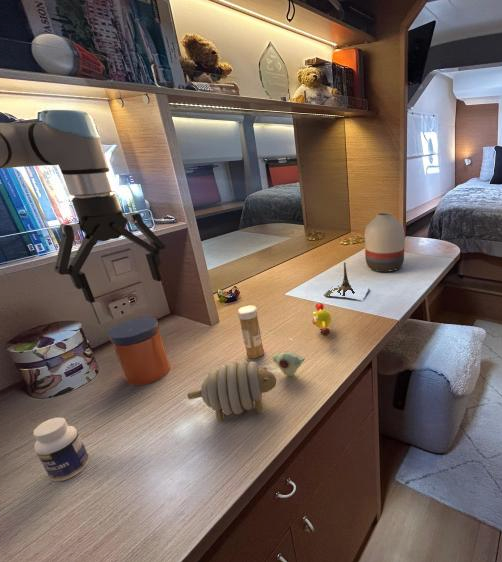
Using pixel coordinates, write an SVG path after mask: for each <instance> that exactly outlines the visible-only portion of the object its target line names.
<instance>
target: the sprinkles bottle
mask: <svg viewBox="0 0 502 562" xmlns="http://www.w3.org/2000/svg"><path fill="white" fill-rule="evenodd" d="M237 316H238V319H239V322H240V327H241V328H240V329H241V333H242V338H243V344H244V347H245V352H246V353H245V354H246V357H247V358H249V359H257V358H260V357H261V356H263V354H264V353H265V350H264V345H263V340H262V334H261V329H260V323H259V318H258V309H257V307H256V306H255V305H244V306H241V307H240V308H239V309H237Z"/></svg>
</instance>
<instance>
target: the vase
mask: <svg viewBox="0 0 502 562" xmlns="http://www.w3.org/2000/svg"><path fill="white" fill-rule="evenodd" d="M405 236H406V235H405V227H404V226H403V224H402V223H401V222H400V221H399V220H398V219H396V218H395V217H394V216H393V213H391V212H377V213H376V216H375V217H374V218H373V219H372V220H371V221H369V223H367V225H366V227H365V230H364V253H365V254H364V255H365V256H364V257H365V262H366V263H365V264H366V265H367V266H368V268H369V269H370V268H371V269H370V270H372V269H373V270H372V271H374V270H378V271H389V270H395V269H397V270H399V269H401V268H402V267H403V265H404V261H405V243H406V242H405V239H406V238H405ZM398 268H399V269H398ZM378 271H377V272H378ZM395 271H396V270H395Z"/></svg>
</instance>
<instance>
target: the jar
mask: <svg viewBox="0 0 502 562" xmlns="http://www.w3.org/2000/svg"><path fill="white" fill-rule="evenodd" d="M163 341H164V340H163V339H162V335H161V331H160V329H159V330H158V332H157V333H156V334H155V335H153V336H152V337H150V338H148V339H146V340H144V341H141V342H138V343H134V344H130V345H115V344H113V343H112V345H113V348H114V351H115V354H116V356H117V359H118V361H119V364H120V368H121V370H122V371H123V375H124V377H125V380H126V382H127V384H128V385H131V386H145V385H148V384H151V383H154V382H156V381H158V380H160V379H162V378H163V377H164V376H166V375H167V374H168V373H169V371H170V369H171V363H170V361H169V358H168V355H167V351H166V349H165V348H166V347H165V345H164V342H163Z"/></svg>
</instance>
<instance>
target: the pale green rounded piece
mask: <svg viewBox="0 0 502 562" xmlns="http://www.w3.org/2000/svg"><path fill="white" fill-rule="evenodd" d="M272 358H273V359H272V361H273V362H274V363H275V364H276V365H277V366H278V368H279V370H280V372H282V373H283V374H284V375H285V376H294V375H295V374H296V372H297V370H298V369H299V368H300V367H301V366H302V364H303V363H304V362H305V360H306V357H304V356H300V355H298V354H296V353H294V352H291V351H283V352H280V353H276V354H275V353H274V354H273V356H272Z"/></svg>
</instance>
